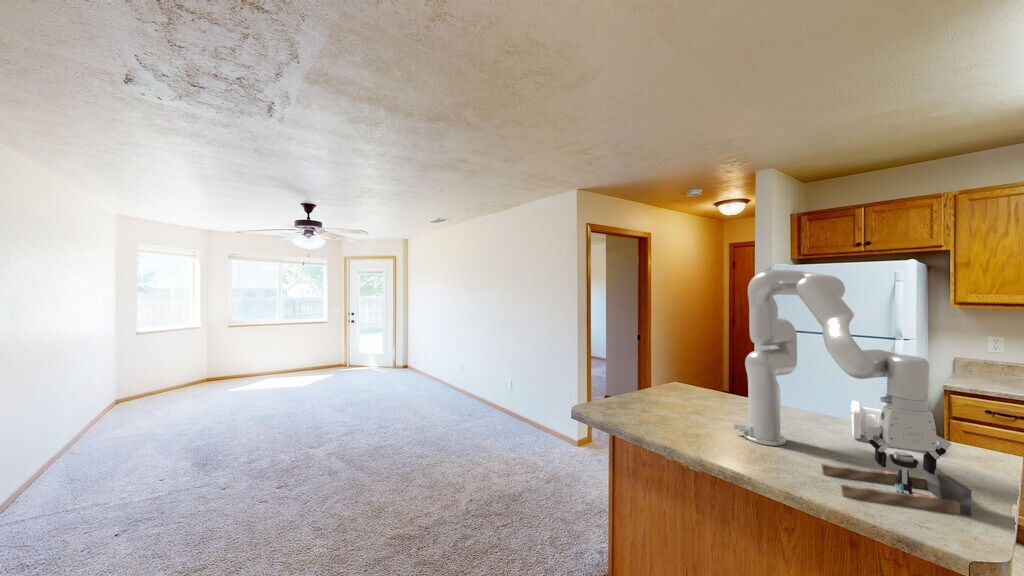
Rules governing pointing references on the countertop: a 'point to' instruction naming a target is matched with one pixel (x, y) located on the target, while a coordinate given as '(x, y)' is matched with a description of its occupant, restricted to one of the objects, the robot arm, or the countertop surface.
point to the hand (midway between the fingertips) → (904, 468)
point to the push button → (903, 470)
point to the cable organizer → (863, 419)
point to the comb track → (939, 484)
